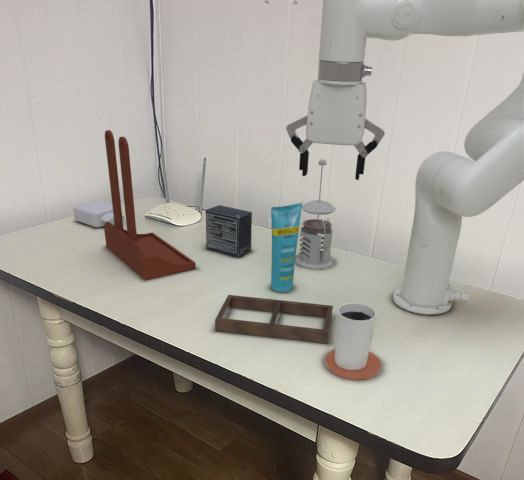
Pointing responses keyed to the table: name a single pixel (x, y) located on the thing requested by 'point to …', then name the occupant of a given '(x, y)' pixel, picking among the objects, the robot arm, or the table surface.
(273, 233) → the tube
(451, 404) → the table surface
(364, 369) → the coaster
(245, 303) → the rack
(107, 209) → the charger
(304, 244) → the french press
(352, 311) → the white cup
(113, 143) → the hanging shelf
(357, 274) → the table surface
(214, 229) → the small box
